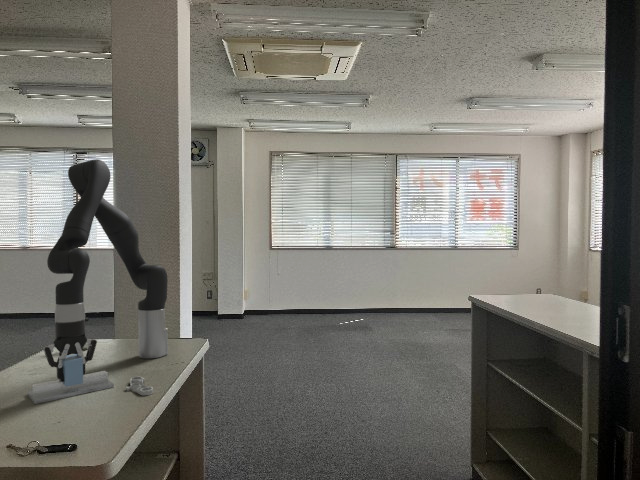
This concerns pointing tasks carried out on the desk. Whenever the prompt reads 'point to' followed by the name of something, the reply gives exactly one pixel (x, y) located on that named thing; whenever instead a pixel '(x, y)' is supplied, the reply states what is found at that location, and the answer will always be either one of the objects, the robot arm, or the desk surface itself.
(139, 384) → the bracket
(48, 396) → the din rail
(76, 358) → the block
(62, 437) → the desk surface
